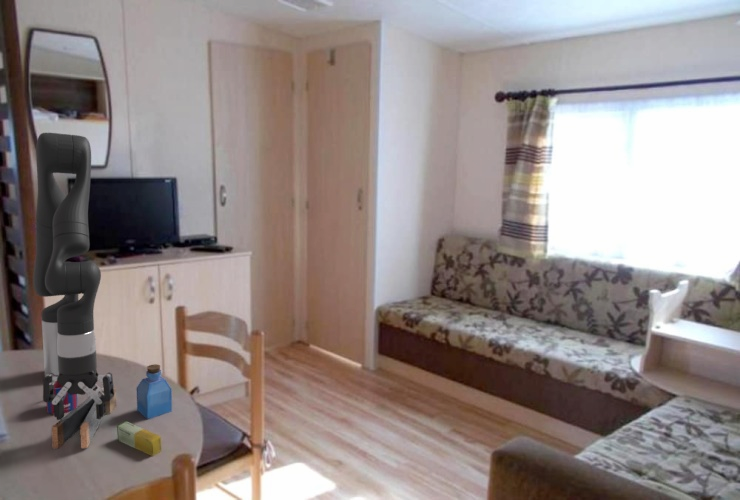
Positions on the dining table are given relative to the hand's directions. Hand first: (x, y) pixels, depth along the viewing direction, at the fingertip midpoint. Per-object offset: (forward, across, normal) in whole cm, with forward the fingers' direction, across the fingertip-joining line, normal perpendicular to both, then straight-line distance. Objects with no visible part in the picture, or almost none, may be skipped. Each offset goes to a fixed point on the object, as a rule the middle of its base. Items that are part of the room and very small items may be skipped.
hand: (80, 417), depth 119 cm
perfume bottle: (+5, -12, -13) cm, 19 cm away
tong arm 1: (+4, +2, -3) cm, 6 cm away
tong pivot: (+5, 0, -14) cm, 14 cm away
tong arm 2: (+5, -2, -3) cm, 6 cm away
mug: (+5, +11, -16) cm, 20 cm away
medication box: (+6, -14, +4) cm, 15 cm away
